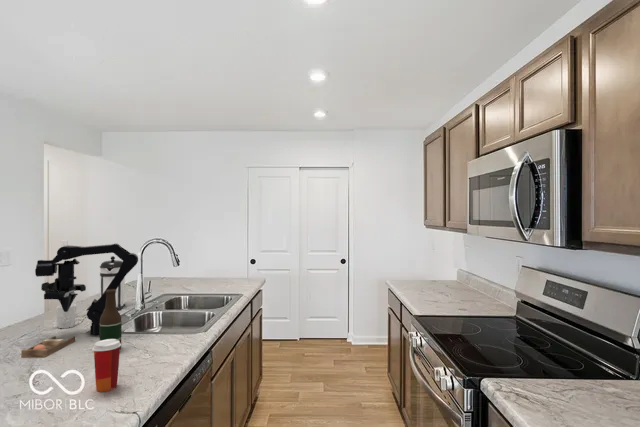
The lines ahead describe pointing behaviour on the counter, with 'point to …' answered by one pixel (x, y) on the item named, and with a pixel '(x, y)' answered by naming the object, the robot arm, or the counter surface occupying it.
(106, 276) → the coffee press
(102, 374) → the paper cup
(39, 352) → the brown wooden tray
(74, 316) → the white cup
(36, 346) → the ball
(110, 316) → the beer bottle
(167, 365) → the counter surface
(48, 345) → the tan wooden brick
